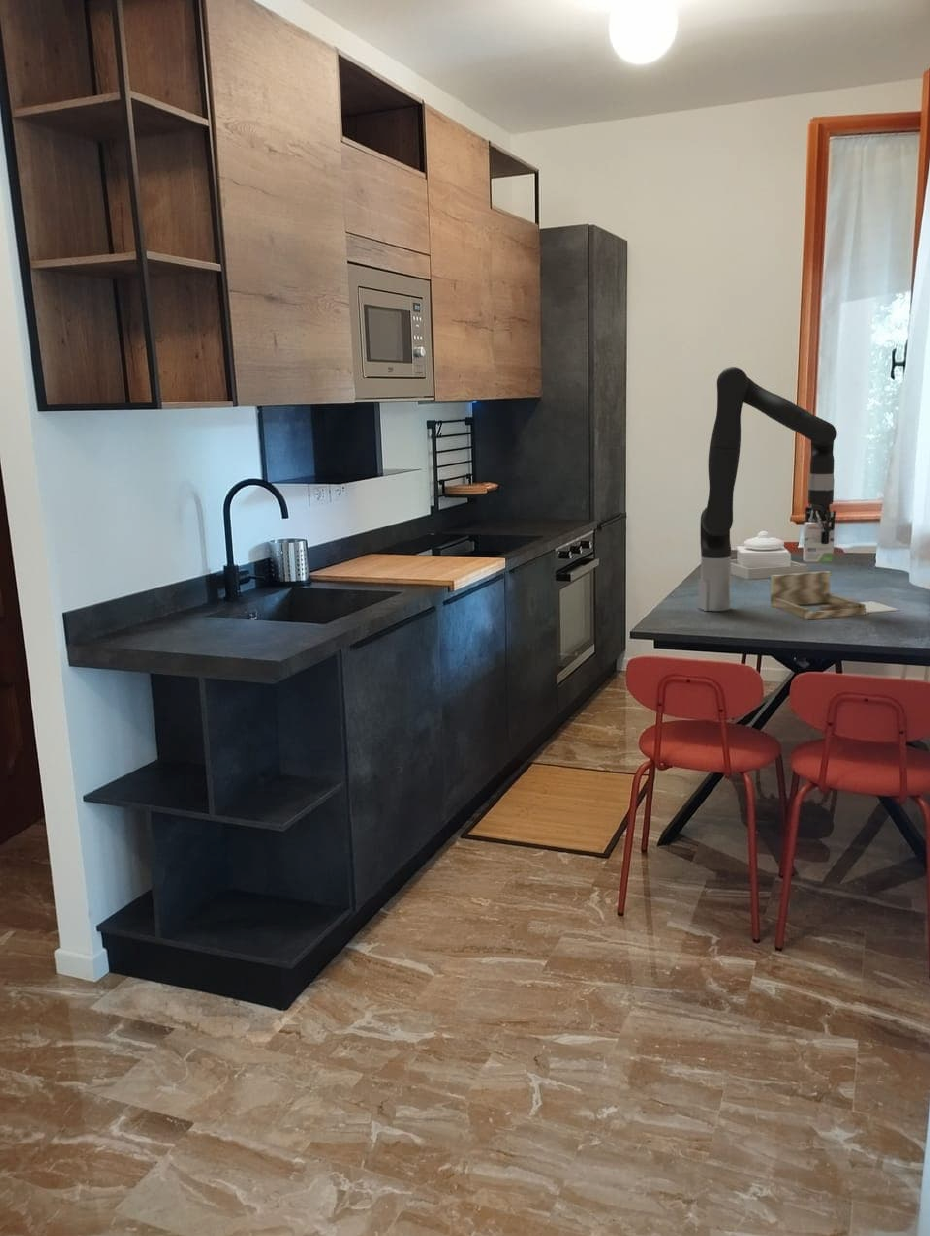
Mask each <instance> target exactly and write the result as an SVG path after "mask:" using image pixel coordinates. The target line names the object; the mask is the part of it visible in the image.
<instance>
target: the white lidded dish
mask: <svg viewBox="0 0 930 1236" xmlns="http://www.w3.org/2000/svg"><path fill="white" fill-rule="evenodd" d="M735 549H736V550H737V554H736V555H737V558H736V559H738V561H737V564H738V565H741V566H744V567H747V568H763V567H777V566H791V561H792V554H791V553H790V551H789V550H788V549H787V548H785V543H784V541H783V540H782V539H780V538H777V537H773V536H771V535H770V532H768V531H766V530H761V531H759V532H758V533H757V536H755V537H751V538H748V539H746V540H744V541H743V546H741V545H740V546H739V545H737V546H735Z"/></svg>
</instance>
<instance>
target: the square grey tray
mask: <svg viewBox="0 0 930 1236" xmlns="http://www.w3.org/2000/svg"><path fill="white" fill-rule="evenodd" d="M737 561H738V559H737V558H733V559H732V558H731V575H732V576H736V577H738V578H742V579H745V580H747V581H750V580H765V579H767V580H768V579H771V576H772V575H785V574H799V573H808V572H807V569H808V565H807V564H805V563H800V562H799V561H798V562H797V561H794V560H791V566H777V567H763V568H747V567H744V566H741V565H738V564H737Z"/></svg>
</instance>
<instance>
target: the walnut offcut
mask: <svg viewBox="0 0 930 1236" xmlns="http://www.w3.org/2000/svg"><path fill="white" fill-rule="evenodd" d="M840 609H845V605H843V604H836V605H832V604H824V605H820V606H819V611H828V610H840Z"/></svg>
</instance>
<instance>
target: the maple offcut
mask: <svg viewBox="0 0 930 1236" xmlns="http://www.w3.org/2000/svg"><path fill="white" fill-rule="evenodd" d="M852 608H859V605H858V604H855V603H854V604H846V609H852Z"/></svg>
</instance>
